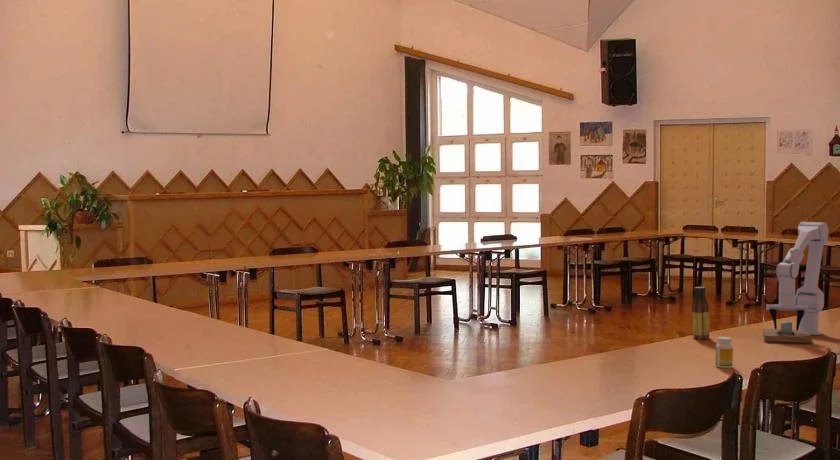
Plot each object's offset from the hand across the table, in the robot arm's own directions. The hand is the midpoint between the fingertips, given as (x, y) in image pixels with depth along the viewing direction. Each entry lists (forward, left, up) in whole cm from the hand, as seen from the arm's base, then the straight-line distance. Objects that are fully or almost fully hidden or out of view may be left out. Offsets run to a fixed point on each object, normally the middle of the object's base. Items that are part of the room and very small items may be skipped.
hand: (786, 329), depth 351 cm
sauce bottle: (+6, -31, -4) cm, 32 cm away
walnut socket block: (0, 0, -4) cm, 4 cm away
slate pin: (0, 0, -3) cm, 3 cm away
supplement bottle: (+58, -22, -4) cm, 62 cm away
